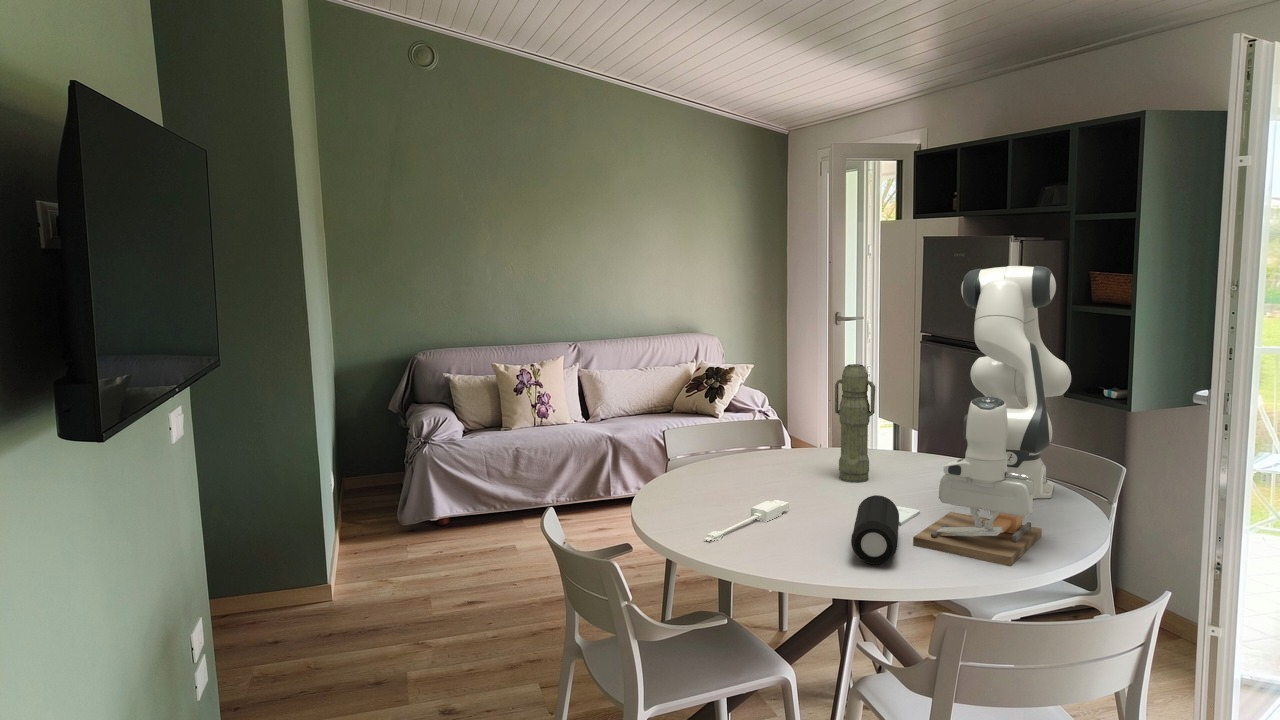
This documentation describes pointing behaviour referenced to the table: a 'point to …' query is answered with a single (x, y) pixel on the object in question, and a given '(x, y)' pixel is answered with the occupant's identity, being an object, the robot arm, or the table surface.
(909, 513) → the external hard drive
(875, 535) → the portable speaker
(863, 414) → the thermos
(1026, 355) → the robot arm
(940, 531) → the grey flat bar
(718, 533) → the charging cable
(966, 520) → the base
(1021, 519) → the bolt
